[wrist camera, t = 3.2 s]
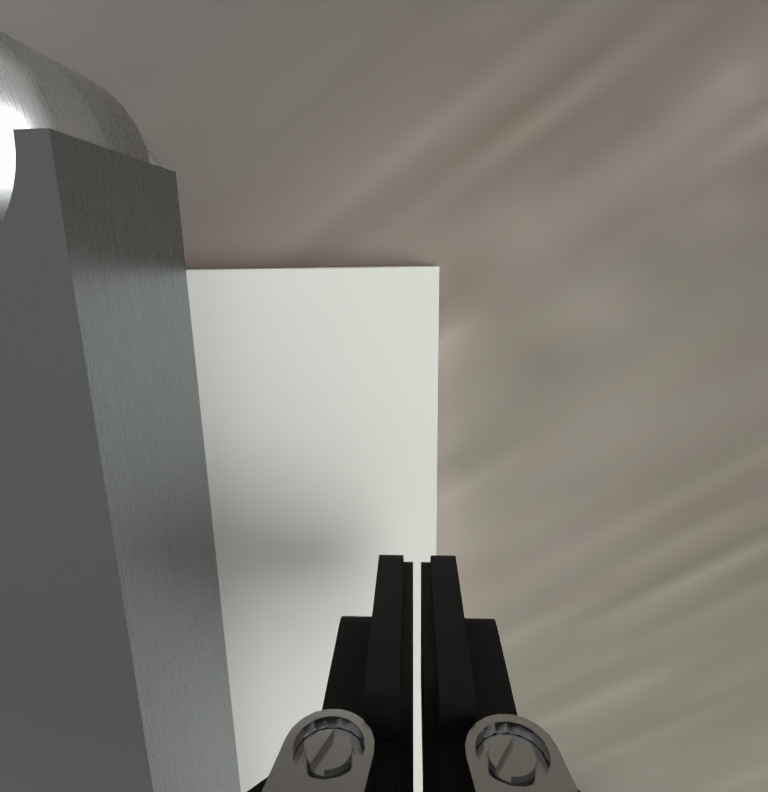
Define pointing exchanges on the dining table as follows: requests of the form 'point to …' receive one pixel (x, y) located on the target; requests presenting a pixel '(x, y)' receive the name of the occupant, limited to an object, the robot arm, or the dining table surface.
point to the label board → (312, 471)
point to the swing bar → (100, 460)
